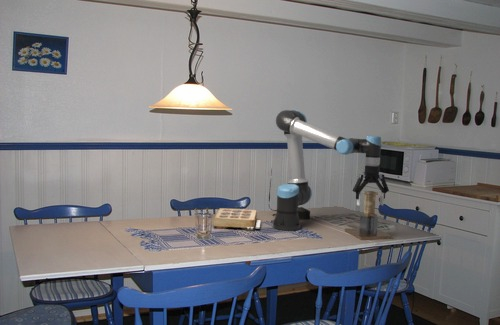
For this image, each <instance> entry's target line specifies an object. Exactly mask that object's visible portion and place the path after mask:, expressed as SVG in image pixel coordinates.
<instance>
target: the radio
mask: <svg viewBox="0 0 500 325" xmlns="http://www.w3.org/2000/svg"><path fill="white" fill-rule="evenodd" d="M272 171H273V169H272V168H271V169H270V175H272ZM271 183H272V179H270V182H269V189H271V188H272V184H271ZM270 200H271V191H269V193H268V202H270ZM268 207H269V209H270V210H271V211H272V212H277V209H272V208H271V207H270V205H268ZM272 216H273V217H275V216H276V213H273V214H272ZM298 217H299V220H310V219H311V211H310V210H309V209H307V208H304V207H303V206H298Z"/></svg>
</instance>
